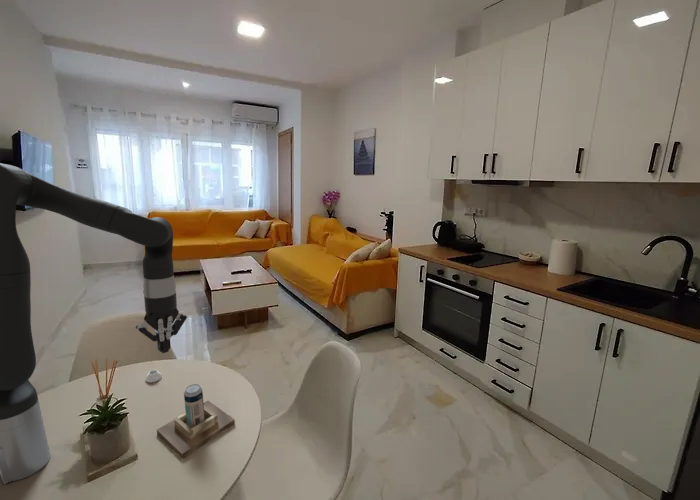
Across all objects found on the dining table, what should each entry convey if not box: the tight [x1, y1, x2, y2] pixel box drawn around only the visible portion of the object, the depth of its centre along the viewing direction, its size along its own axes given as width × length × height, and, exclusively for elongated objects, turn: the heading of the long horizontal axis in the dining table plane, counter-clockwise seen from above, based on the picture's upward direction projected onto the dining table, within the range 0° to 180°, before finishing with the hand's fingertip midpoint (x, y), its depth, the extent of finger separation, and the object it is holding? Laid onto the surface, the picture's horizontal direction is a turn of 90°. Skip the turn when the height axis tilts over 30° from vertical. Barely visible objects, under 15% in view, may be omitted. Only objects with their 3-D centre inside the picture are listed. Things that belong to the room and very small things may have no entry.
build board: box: [156, 400, 236, 459], centre depth 99 cm, size 16×14×4 cm
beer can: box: [183, 384, 205, 429], centre depth 98 cm, size 5×5×12 cm
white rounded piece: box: [145, 369, 163, 383], centre depth 122 cm, size 5×3×5 cm
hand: (164, 351), depth 94 cm, fingers closed
